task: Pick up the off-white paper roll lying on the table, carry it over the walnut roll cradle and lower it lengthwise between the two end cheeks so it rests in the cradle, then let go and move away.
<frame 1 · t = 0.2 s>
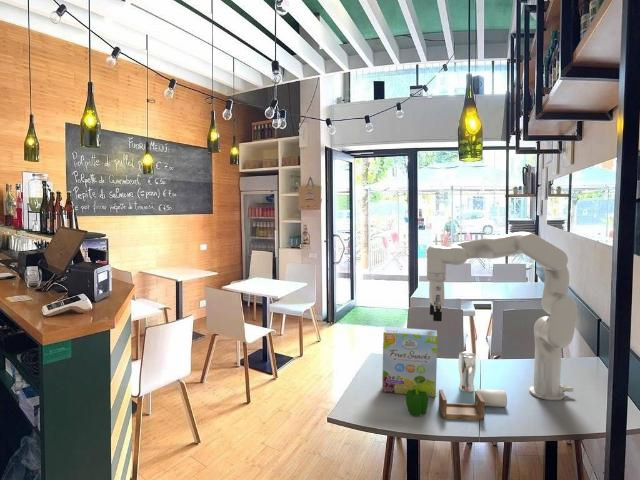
hand: (435, 317, 181), 31 cm above the table, tool pointing down, fingers open, 9 cm apart
snack box: (409, 391, 183), on the table
roll: (491, 405, 170), on the table
bell pepper: (416, 413, 164), on the table
cradle: (460, 413, 163), on the table
beer glass: (466, 389, 185), on the table
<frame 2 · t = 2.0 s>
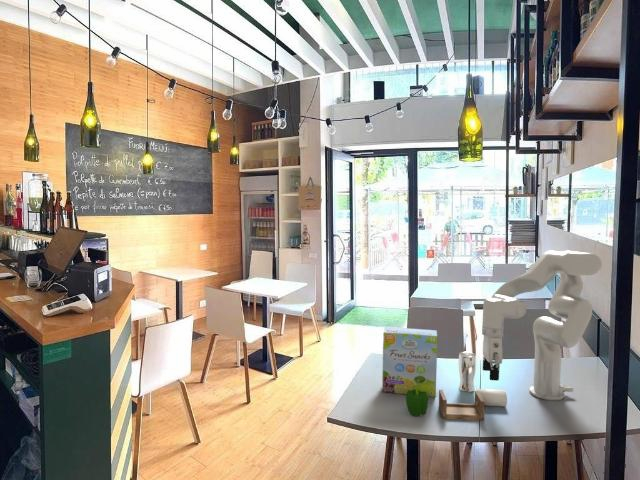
hand: (490, 375, 169), 12 cm above the table, tool pointing down, fingers open, 9 cm apart
nothing on the table moved.
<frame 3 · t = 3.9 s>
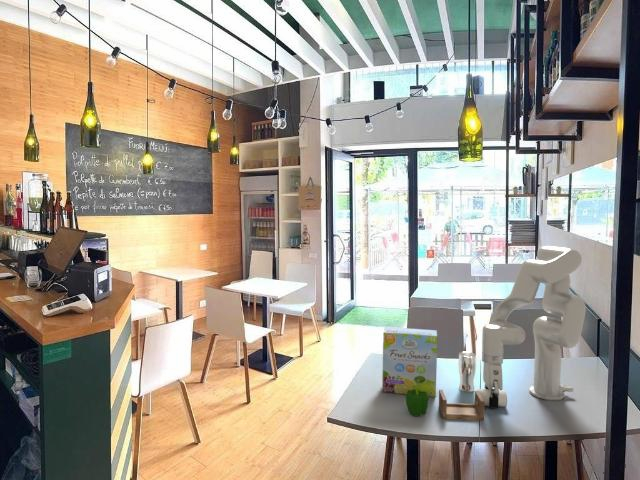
hand: (491, 402, 170), 1 cm above the table, tool pointing down, fingers closed on roll, 6 cm apart
roll: (491, 405, 170), on the table, touching gripper
everything else where it was.
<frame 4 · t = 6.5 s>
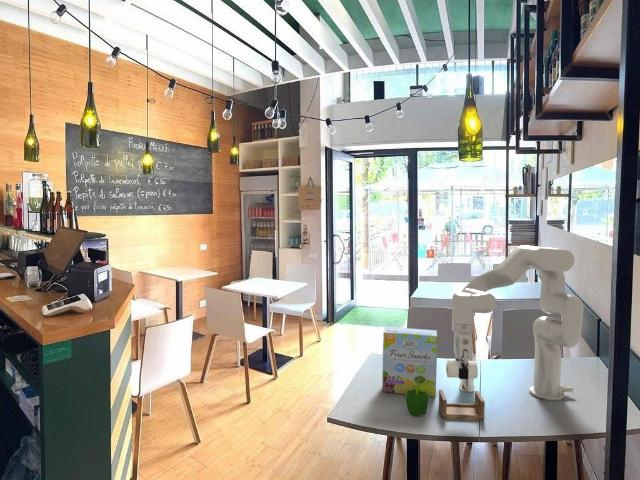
hand: (461, 374, 162), 15 cm above the table, tool pointing down, fingers closed on roll, 6 cm apart
roll: (461, 377, 162), point 14 cm above the table, touching gripper
everything else where it was.
when the fingers open (3 cm above the table, at t = 9.4 s): roll drops 1 cm, resting on cradle.
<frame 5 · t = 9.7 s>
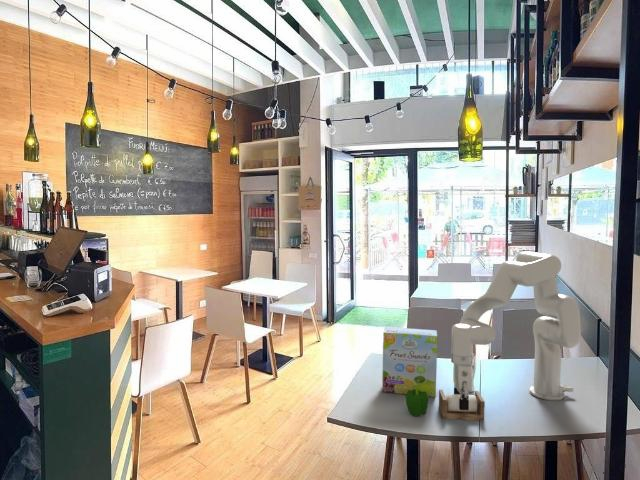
hand: (460, 403, 163), 4 cm above the table, tool pointing down, fingers open, 9 cm apart
roll: (460, 411, 163), point 1 cm above the table, touching cradle
everything else where it was.
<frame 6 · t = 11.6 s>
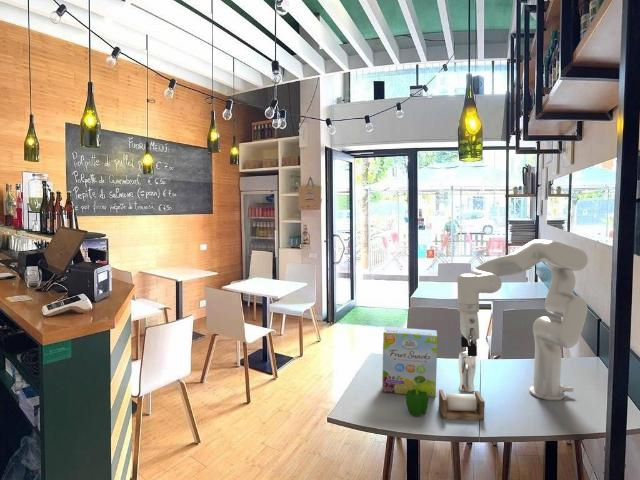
hand: (468, 351, 167), 22 cm above the table, tool pointing down, fingers open, 9 cm apart
roll: (460, 410, 163), point 1 cm above the table, tilted 12°, touching cradle
everything else where it was.
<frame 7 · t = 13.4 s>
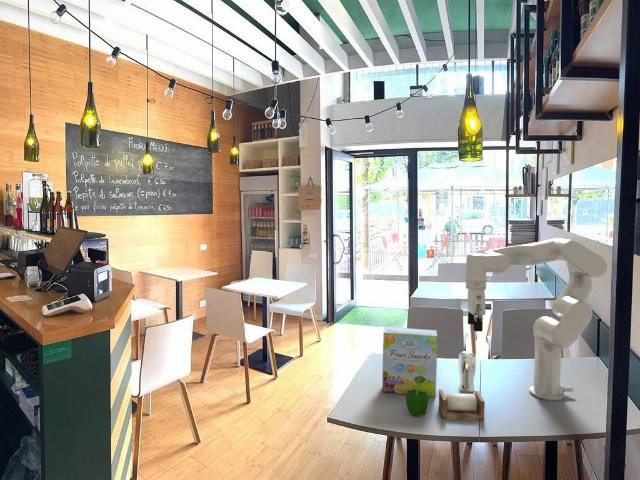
hand: (474, 327, 175), 28 cm above the table, tool pointing down, fingers open, 9 cm apart
nothing on the table moved.
at the end: roll 0.1 cm off-centre on the cradle, point 1.1 cm above the cradle's base; the gripper is holding nothing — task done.
